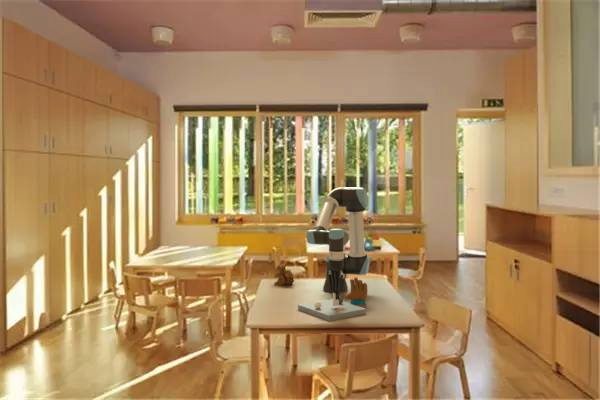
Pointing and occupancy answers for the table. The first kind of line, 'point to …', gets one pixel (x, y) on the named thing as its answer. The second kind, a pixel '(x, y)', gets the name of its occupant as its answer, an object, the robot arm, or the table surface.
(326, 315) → the grey flat plate
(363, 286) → the toy
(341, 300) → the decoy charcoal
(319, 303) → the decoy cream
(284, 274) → the stuffed squirrel
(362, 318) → the table surface
